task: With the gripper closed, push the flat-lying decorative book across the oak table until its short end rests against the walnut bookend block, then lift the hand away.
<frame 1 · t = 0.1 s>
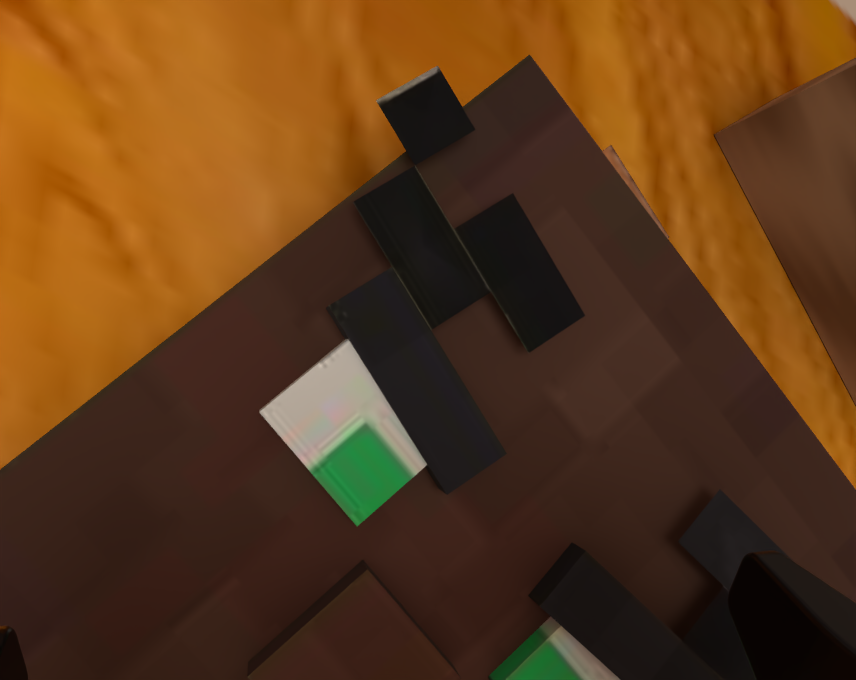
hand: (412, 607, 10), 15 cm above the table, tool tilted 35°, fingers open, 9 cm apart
decorative book: (329, 578, 25), on the table
bookend: (823, 263, 28), on the table
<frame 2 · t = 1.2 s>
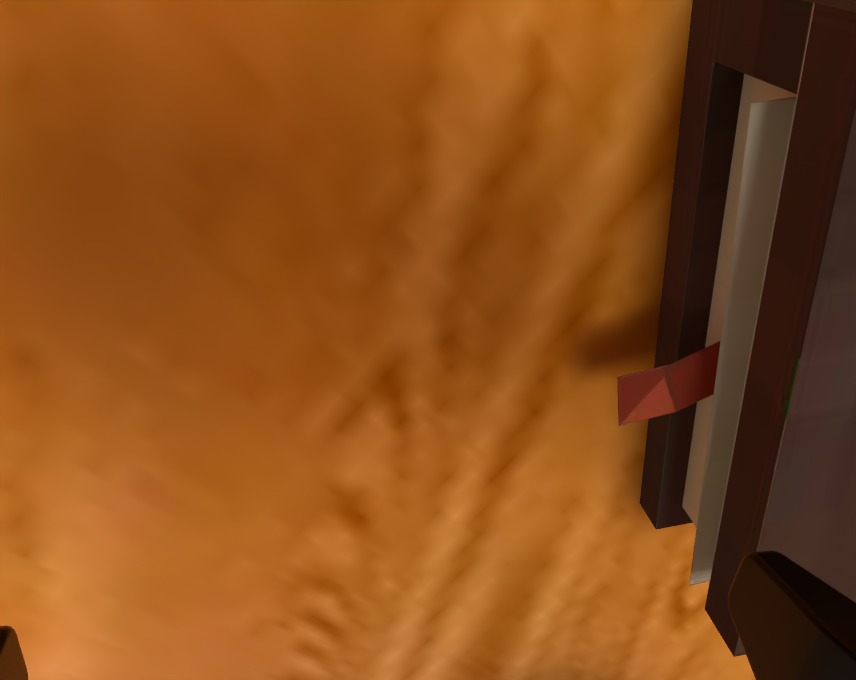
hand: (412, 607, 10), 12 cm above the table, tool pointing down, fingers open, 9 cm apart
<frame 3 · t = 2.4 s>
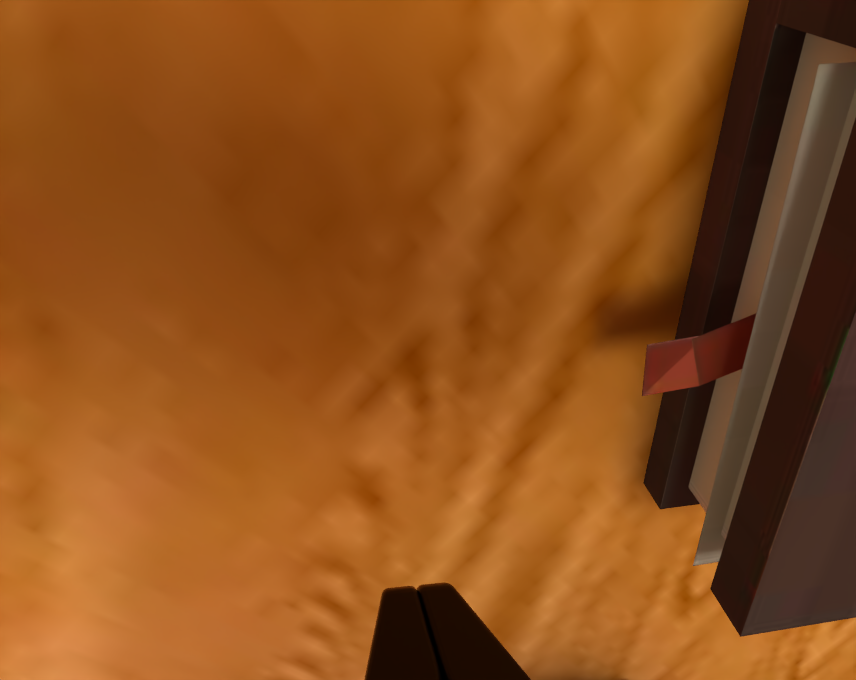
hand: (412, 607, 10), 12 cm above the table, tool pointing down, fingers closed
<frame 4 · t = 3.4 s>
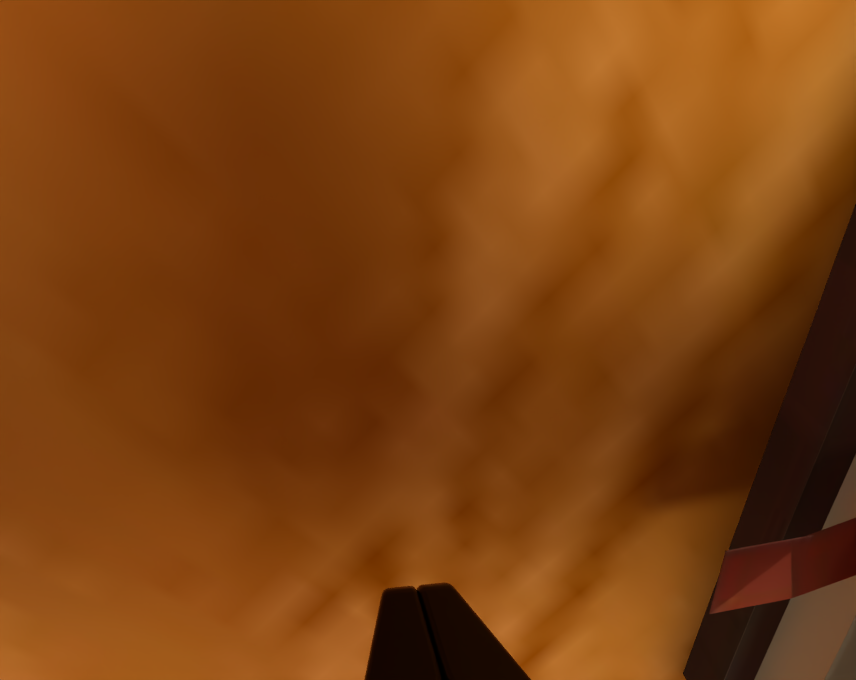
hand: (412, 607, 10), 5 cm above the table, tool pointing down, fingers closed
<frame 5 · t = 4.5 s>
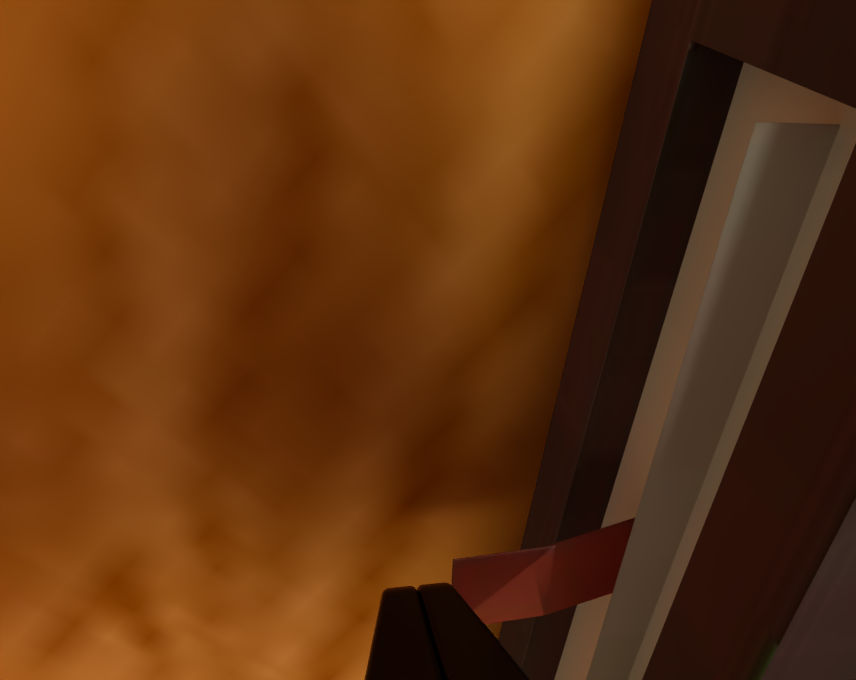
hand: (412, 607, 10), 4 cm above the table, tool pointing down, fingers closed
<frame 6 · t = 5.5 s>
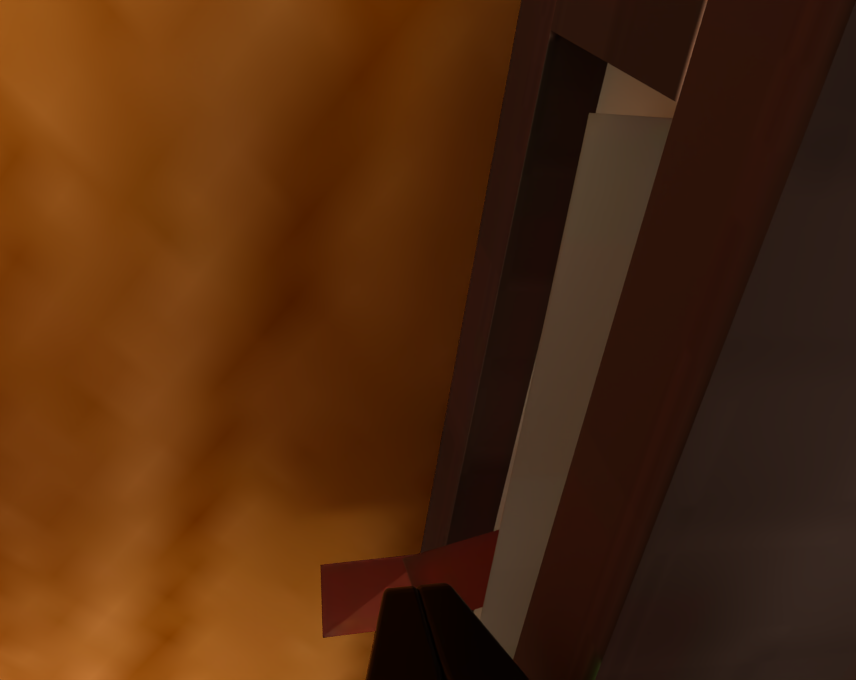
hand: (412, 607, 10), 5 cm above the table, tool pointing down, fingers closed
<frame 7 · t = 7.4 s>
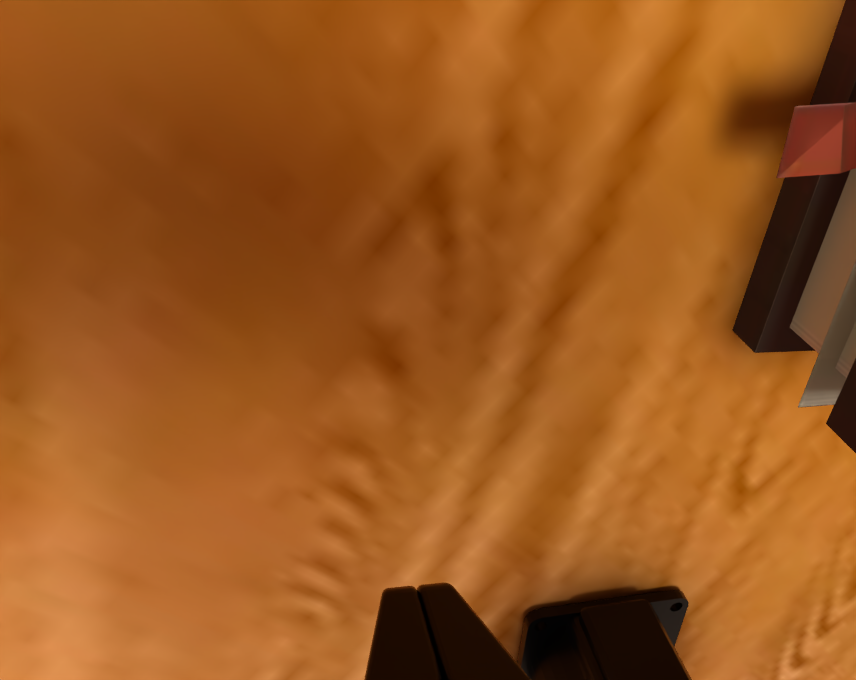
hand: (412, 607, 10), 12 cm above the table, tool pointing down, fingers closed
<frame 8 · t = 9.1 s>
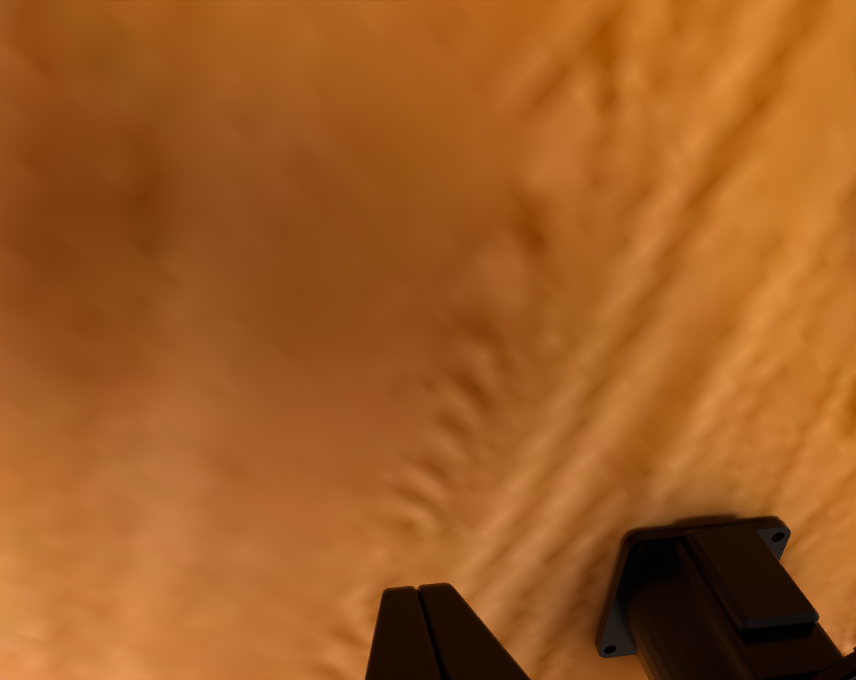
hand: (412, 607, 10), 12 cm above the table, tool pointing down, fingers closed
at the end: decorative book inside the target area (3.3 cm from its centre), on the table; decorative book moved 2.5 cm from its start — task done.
